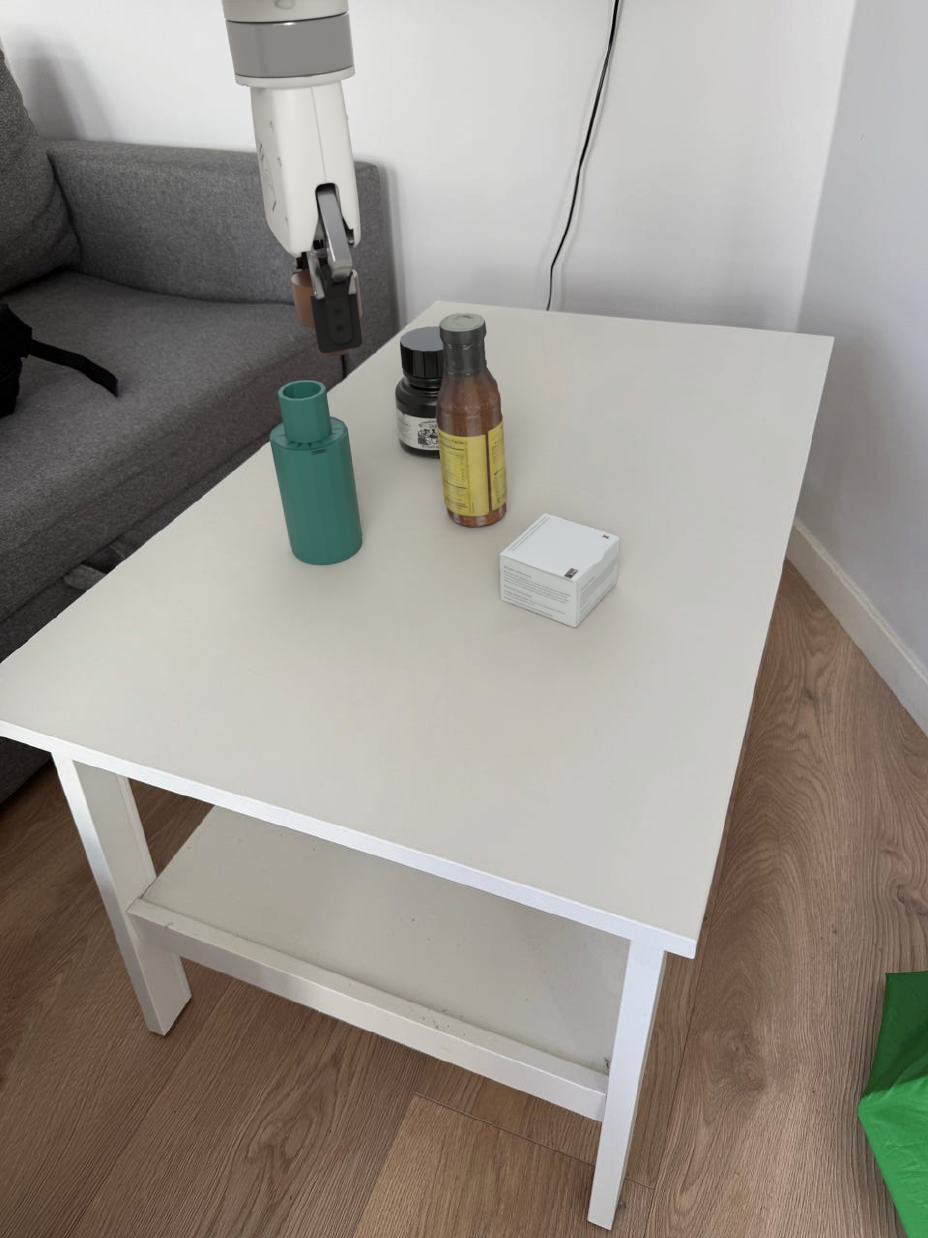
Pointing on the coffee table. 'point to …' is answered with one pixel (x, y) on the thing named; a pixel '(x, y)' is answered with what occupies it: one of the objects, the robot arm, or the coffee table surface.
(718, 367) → the coffee table surface
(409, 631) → the coffee table surface
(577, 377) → the coffee table surface
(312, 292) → the stopper
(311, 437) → the bottle
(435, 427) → the ink bottle
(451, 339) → the sauce bottle
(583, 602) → the small box
